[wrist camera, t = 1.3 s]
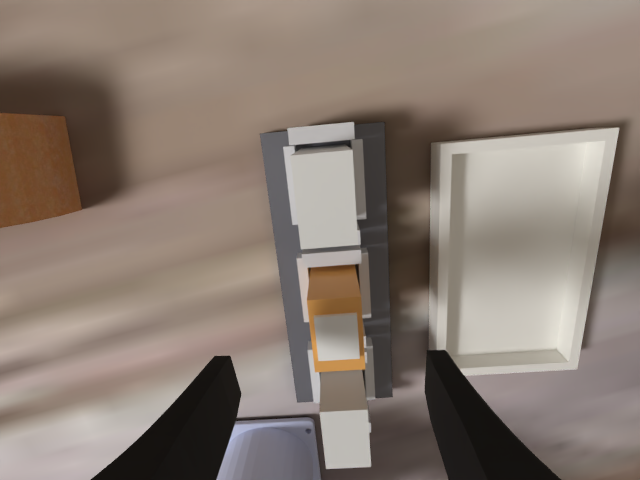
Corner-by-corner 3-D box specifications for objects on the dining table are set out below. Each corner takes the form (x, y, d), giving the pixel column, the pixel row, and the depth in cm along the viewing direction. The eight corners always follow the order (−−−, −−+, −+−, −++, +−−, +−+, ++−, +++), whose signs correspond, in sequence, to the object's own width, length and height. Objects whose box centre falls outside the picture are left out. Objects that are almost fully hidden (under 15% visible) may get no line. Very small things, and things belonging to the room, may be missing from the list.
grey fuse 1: (349, 212, 20) (358, 245, 14) (308, 216, 20) (301, 249, 15) (345, 144, 19) (352, 150, 13) (301, 148, 19) (290, 155, 13)
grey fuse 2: (360, 387, 24) (371, 467, 18) (326, 389, 24) (326, 469, 19) (357, 340, 23) (367, 409, 17) (321, 342, 23) (319, 412, 17)
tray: (559, 352, 24) (577, 369, 22) (428, 360, 24) (436, 377, 23) (593, 127, 19) (619, 127, 17) (431, 142, 20) (440, 143, 18)
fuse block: (390, 390, 25) (400, 431, 22) (298, 395, 26) (293, 436, 22) (382, 120, 19) (393, 117, 16) (262, 131, 20) (248, 132, 16)
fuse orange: (355, 308, 22) (365, 372, 16) (318, 310, 22) (314, 375, 16) (352, 251, 21) (361, 298, 15) (312, 254, 21) (306, 302, 15)
